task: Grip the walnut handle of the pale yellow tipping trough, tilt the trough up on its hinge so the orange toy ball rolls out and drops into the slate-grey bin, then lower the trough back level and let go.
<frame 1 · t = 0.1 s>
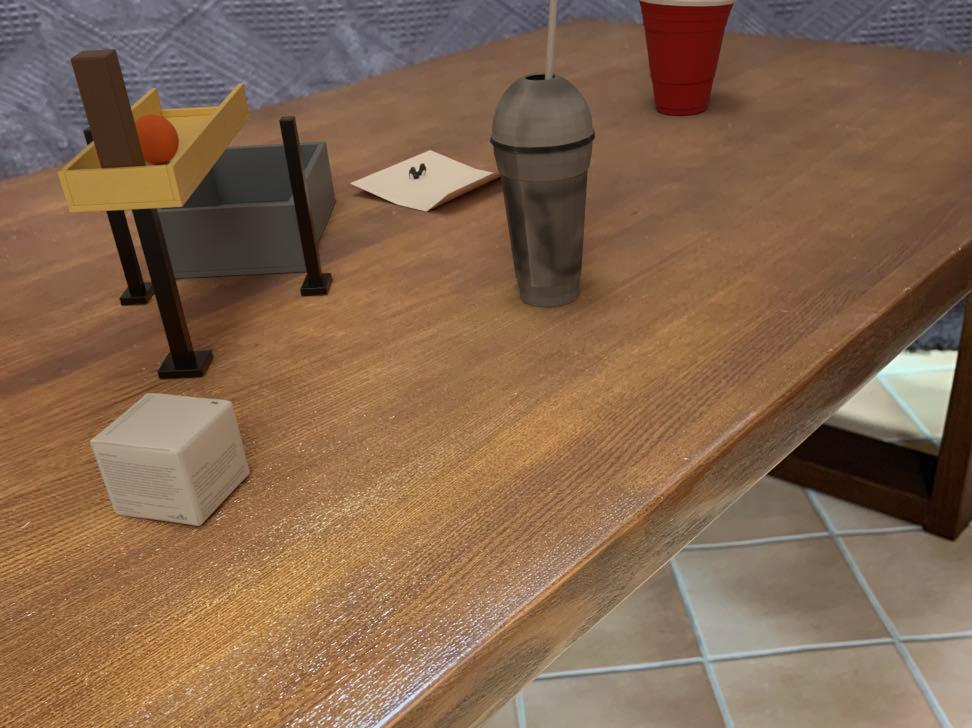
toy ball: (154, 139, 70), point 14 cm above the table, touching trough
bin: (258, 237, 94), on the table
beverage cup: (549, 296, 81), on the table
small box: (184, 497, 61), on the table
trough: (153, 94, 70), point 16 cm above the table, hinge at 0.0°, touching toy ball
plastic cup: (683, 110, 121), on the table
folded paper: (439, 189, 103), on the table
stand: (175, 388, 71), on the table
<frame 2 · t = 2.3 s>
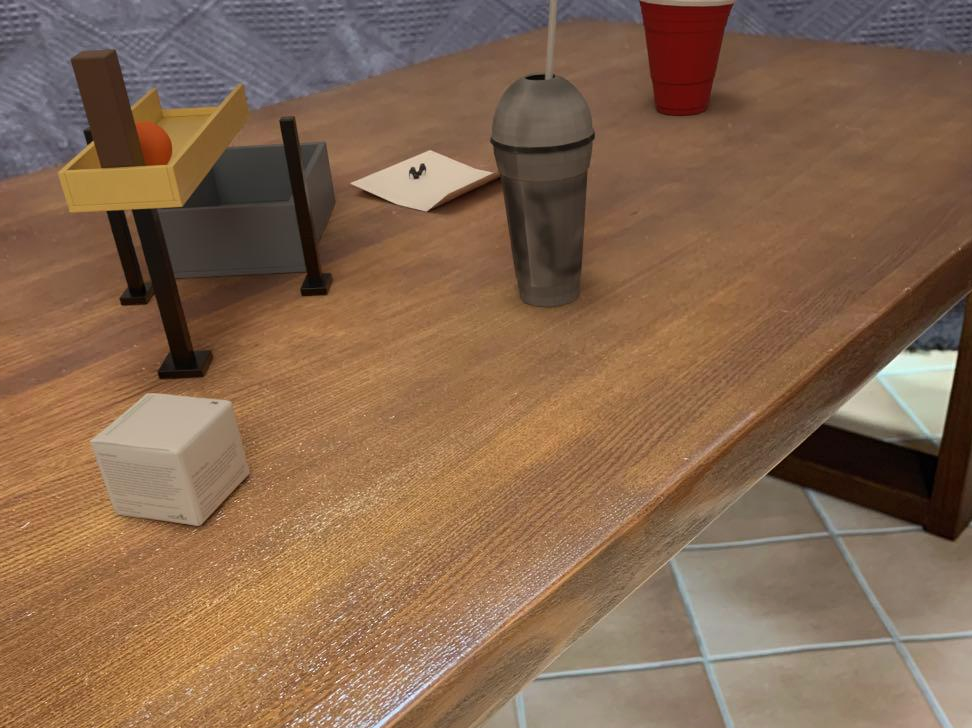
toy ball: (147, 146, 68), point 14 cm above the table, tilted 63°, touching trough
everything else where it was.
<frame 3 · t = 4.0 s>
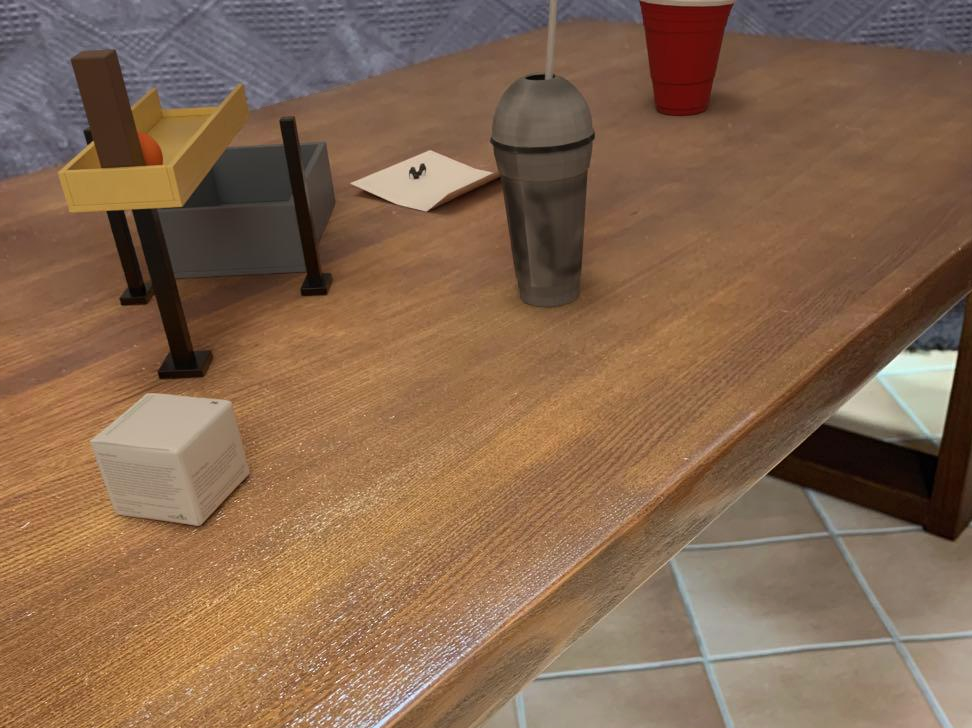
toy ball: (137, 156, 67), point 14 cm above the table, tilted 147°, touching trough
everything else where it was.
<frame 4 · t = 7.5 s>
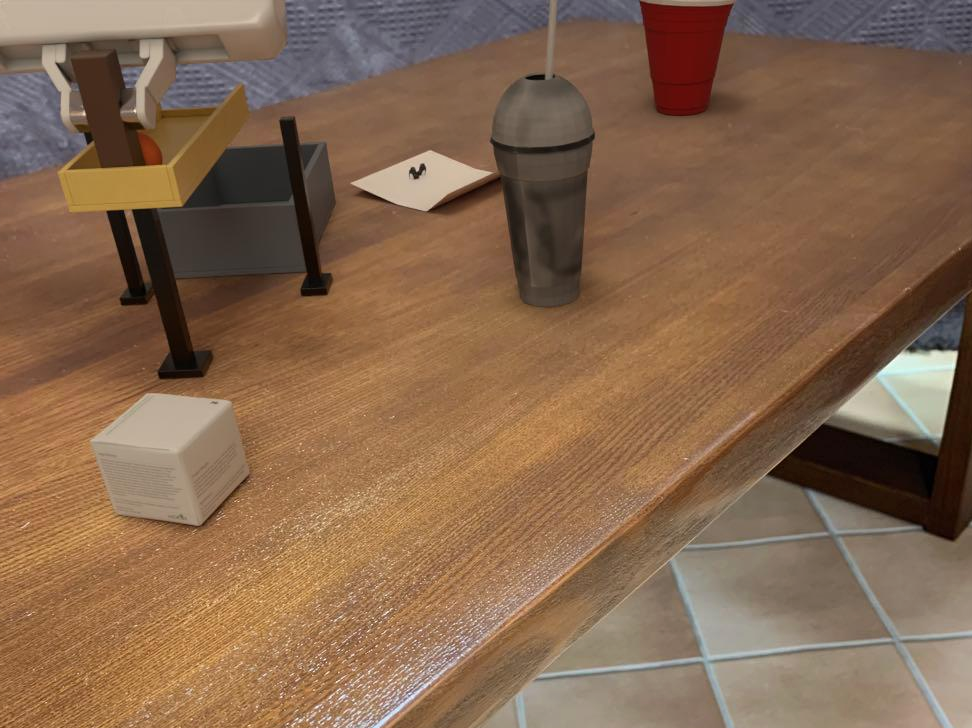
hand: (109, 126, 62), 17 cm above the table, tool tilted 45°, fingers closed on trough, 2 cm apart
toy ball: (136, 157, 66), point 14 cm above the table, tilted 153°, touching trough
trough: (153, 93, 70), point 16 cm above the table, hinge at 0.0°, touching gripper, toy ball
everything else where it was.
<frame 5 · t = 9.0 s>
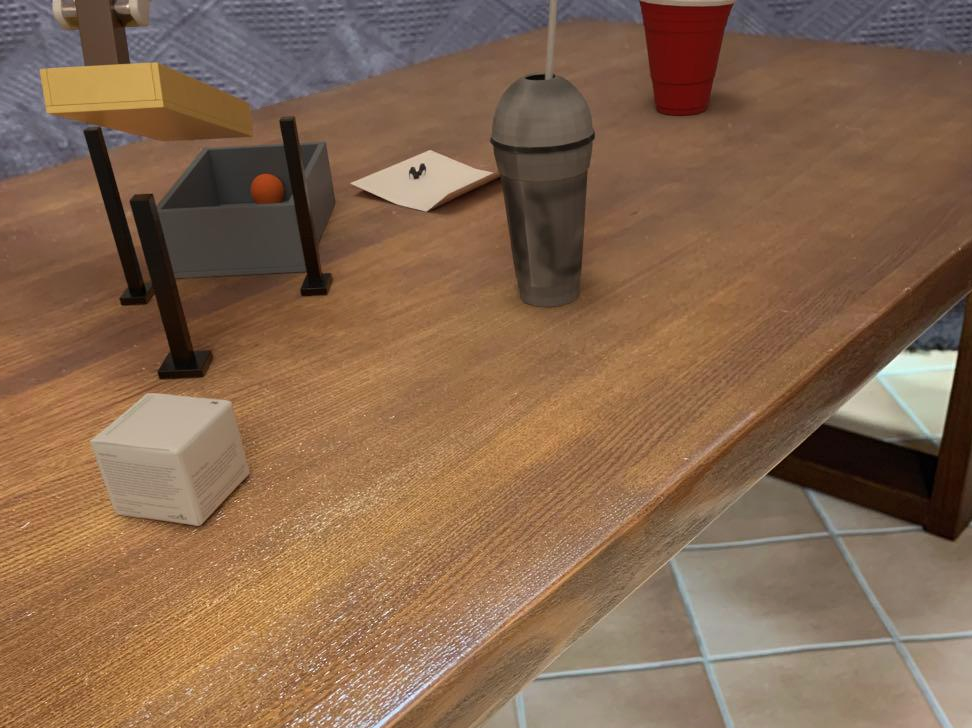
hand: (101, 22, 62), 22 cm above the table, tool tilted 45°, fingers closed on trough, 2 cm apart
toy ball: (267, 191, 98), point 2 cm above the table, tilted 15°, touching bin
trough: (154, 58, 70), point 18 cm above the table, hinge at 19.9°, touching gripper
everything else where it was.
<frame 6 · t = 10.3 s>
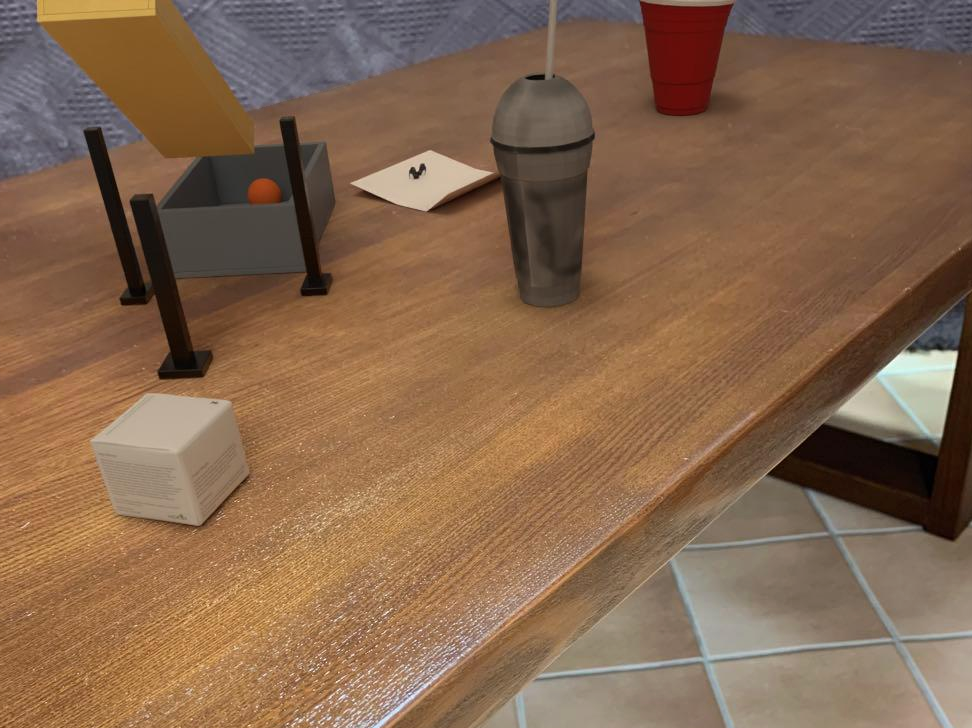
toy ball: (264, 195, 97), point 2 cm above the table, tilted 68°, touching bin
trough: (158, 34, 71), point 19 cm above the table, hinge at 38.0°, touching gripper
everything else where it was.
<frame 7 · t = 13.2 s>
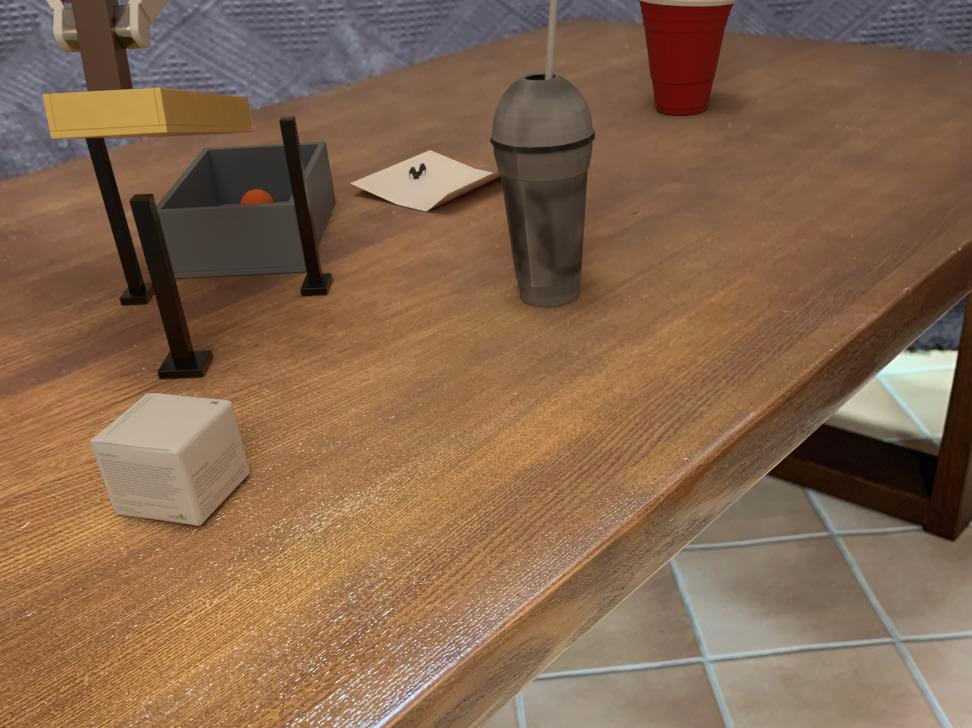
hand: (102, 44, 62), 21 cm above the table, tool tilted 45°, fingers closed on trough, 2 cm apart
toy ball: (258, 207, 94), point 2 cm above the table, tilted 176°, touching bin
trough: (153, 66, 70), point 18 cm above the table, hinge at 15.0°, touching gripper
everything else where it was.
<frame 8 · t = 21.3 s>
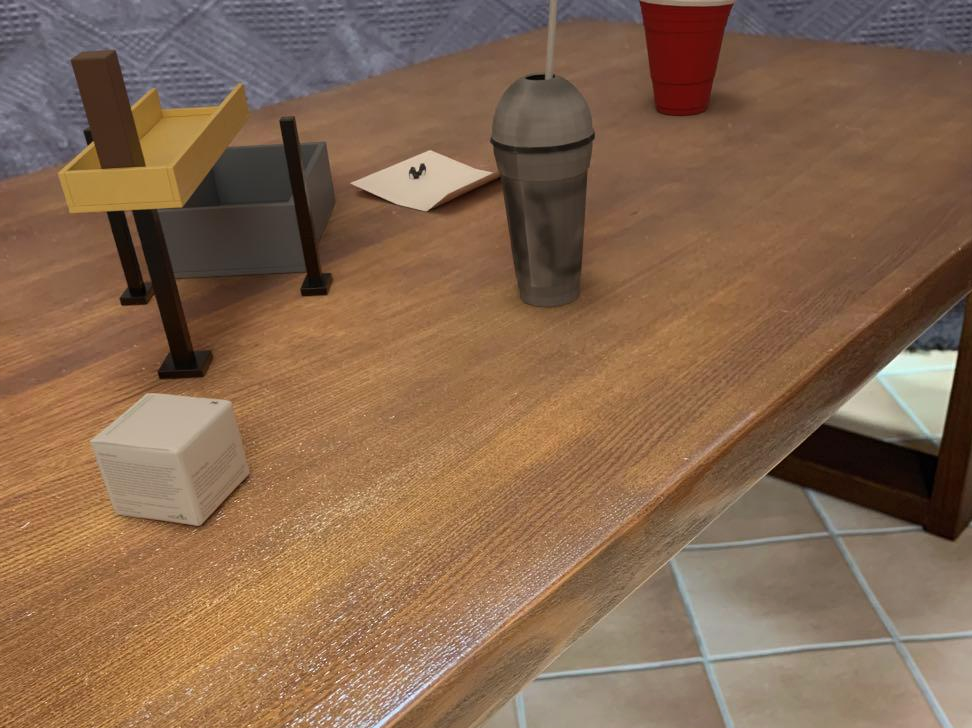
toy ball: (237, 242, 88), point 2 cm above the table, tilted 146°, touching bin
trough: (153, 94, 70), point 16 cm above the table, hinge at -0.2°
everything else where it was.
at the end: toy ball 6.5 cm from the bin (horizontally); toy ball point 2.0 cm above the table; trough reached +38° during the clip, +0° at the end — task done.
